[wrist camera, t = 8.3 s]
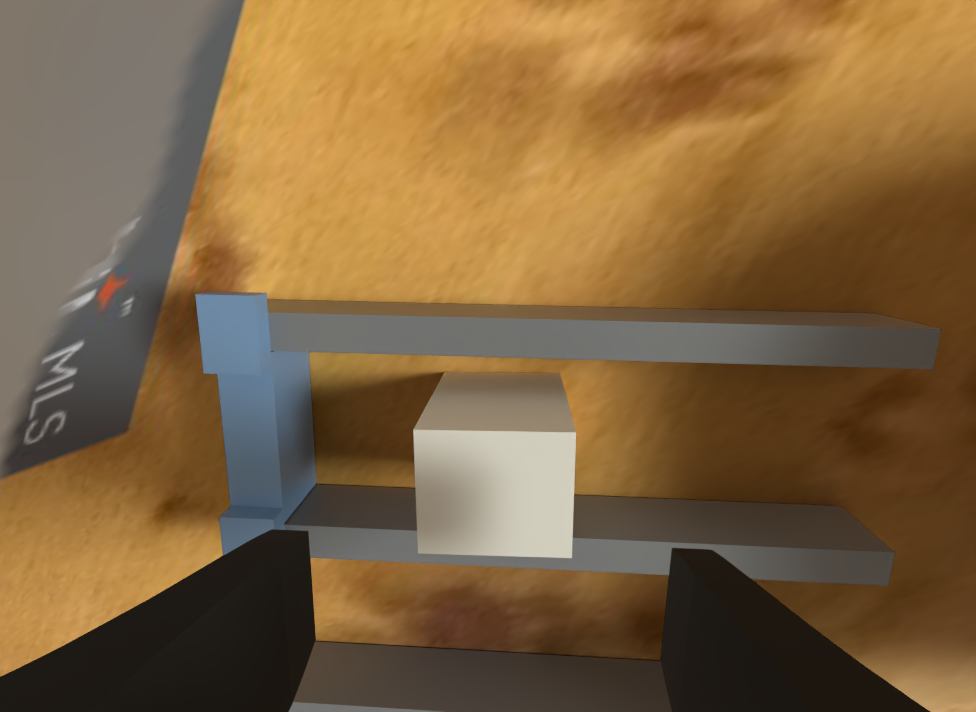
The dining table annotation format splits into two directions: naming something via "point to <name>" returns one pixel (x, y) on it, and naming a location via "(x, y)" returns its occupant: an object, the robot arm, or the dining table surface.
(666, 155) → the dining table surface
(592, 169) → the dining table surface
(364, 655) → the metal rails
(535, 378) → the cream rectangular box
